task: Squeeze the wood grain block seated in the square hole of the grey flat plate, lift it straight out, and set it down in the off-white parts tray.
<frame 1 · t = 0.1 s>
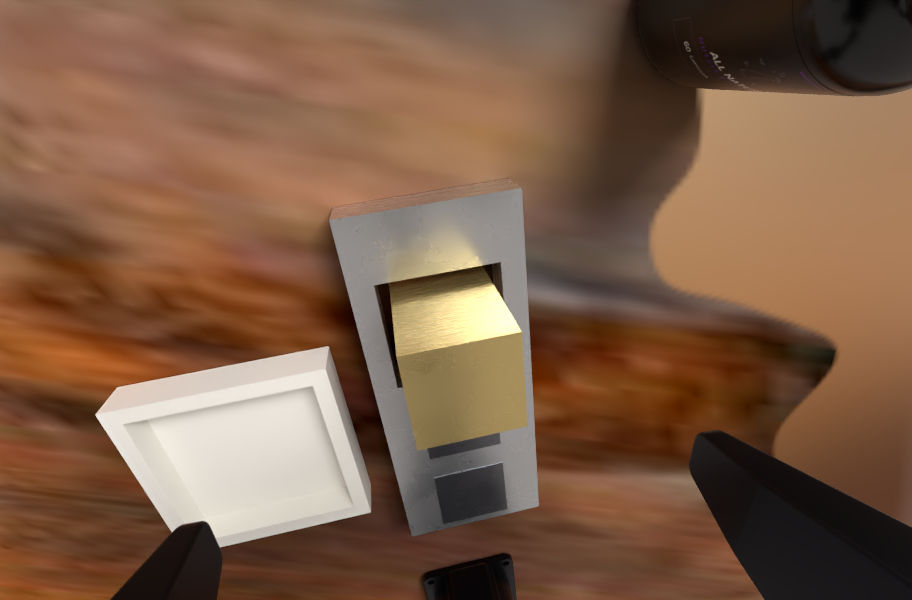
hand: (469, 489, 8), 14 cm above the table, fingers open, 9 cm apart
grey flat plate: (450, 371, 25), on the table
wood grain block: (440, 308, 23), resting in grey flat plate
parts tray: (258, 441, 25), on the table
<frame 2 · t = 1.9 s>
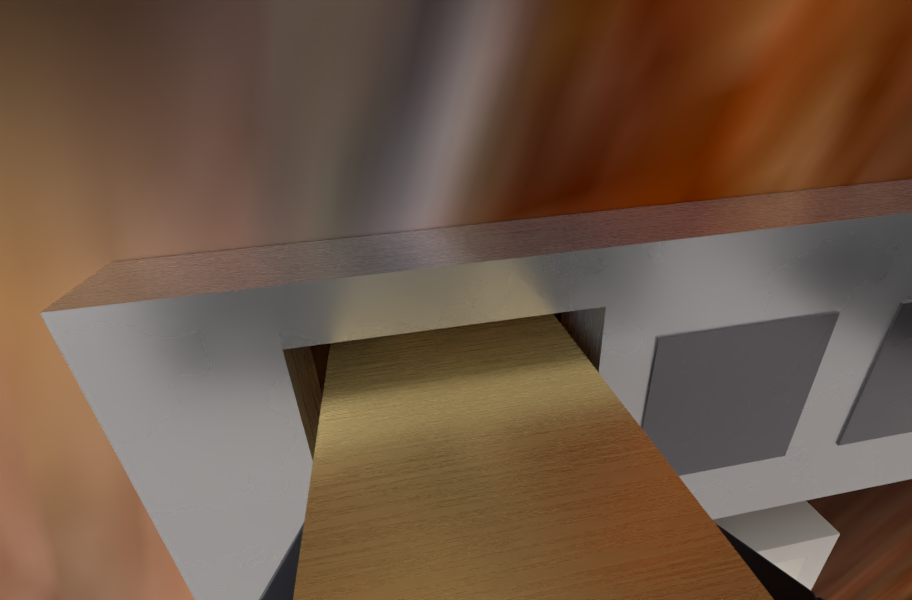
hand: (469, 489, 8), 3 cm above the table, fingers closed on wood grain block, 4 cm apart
grey flat plate: (600, 364, 11), on the table
wood grain block: (444, 387, 11), resting in grey flat plate, touching gripper
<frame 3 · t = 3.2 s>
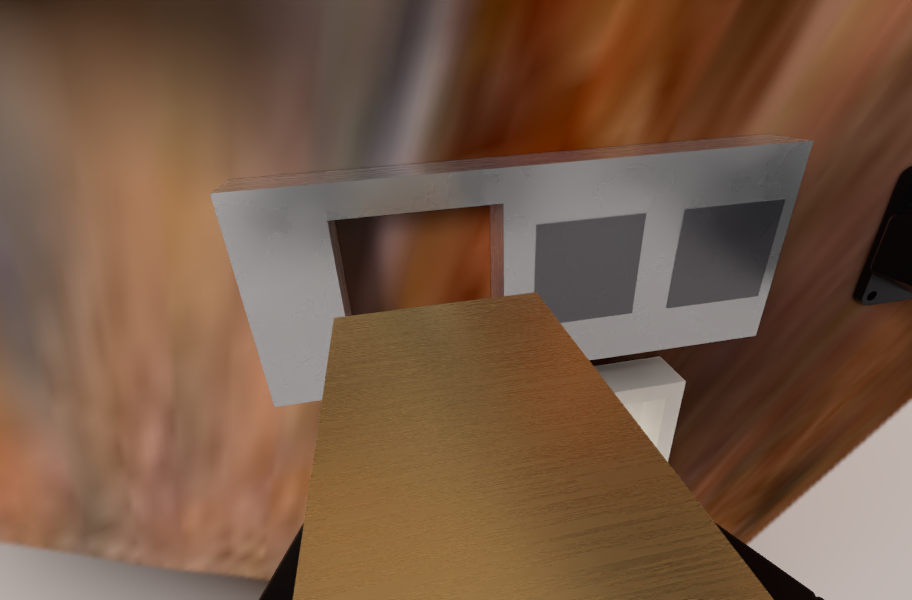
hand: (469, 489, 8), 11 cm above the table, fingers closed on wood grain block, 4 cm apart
grey flat plate: (518, 258, 18), on the table
wood grain block: (444, 386, 11), point 7 cm above the table, touching gripper
parts tray: (553, 451, 23), on the table
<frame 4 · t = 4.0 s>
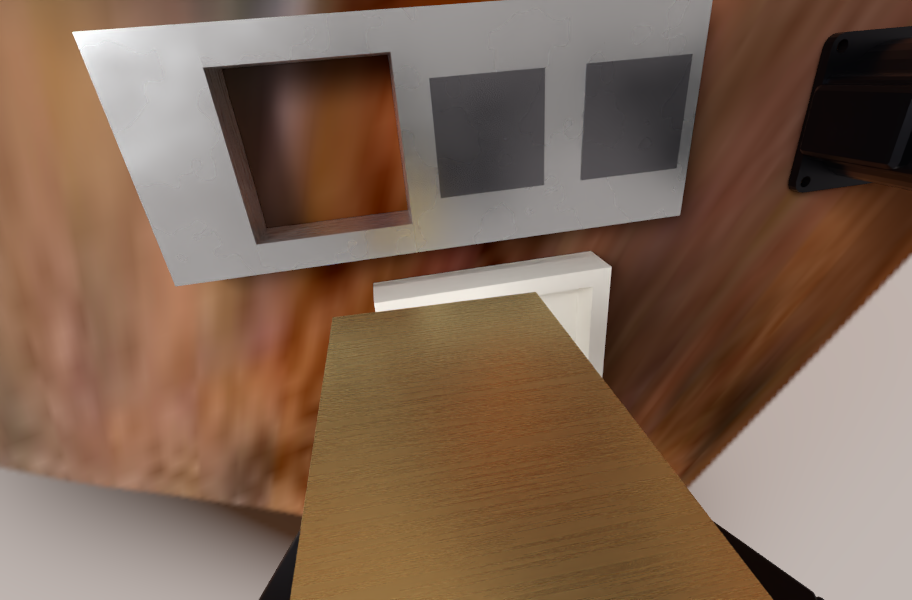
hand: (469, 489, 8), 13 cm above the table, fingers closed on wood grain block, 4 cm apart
grey flat plate: (428, 134, 18), on the table
wood grain block: (443, 386, 11), point 10 cm above the table, touching gripper
parts tray: (490, 359, 23), on the table
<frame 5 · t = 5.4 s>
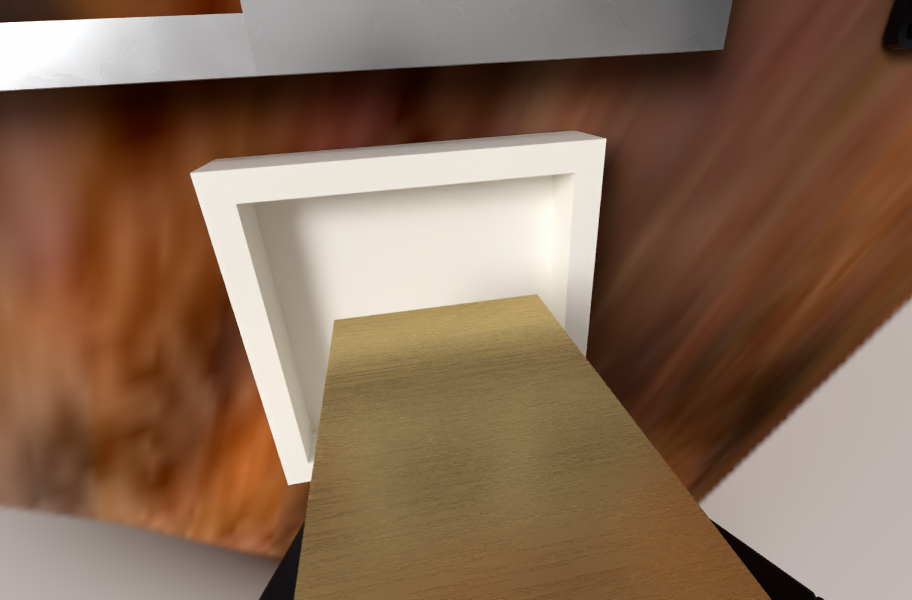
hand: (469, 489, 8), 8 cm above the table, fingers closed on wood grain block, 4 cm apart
wood grain block: (445, 388, 11), point 5 cm above the table, touching gripper
parts tray: (420, 303, 15), on the table
when the fingers open (5 cm above the table, at t = 6.3 s): wood grain block drops 1 cm, resting on parts tray.
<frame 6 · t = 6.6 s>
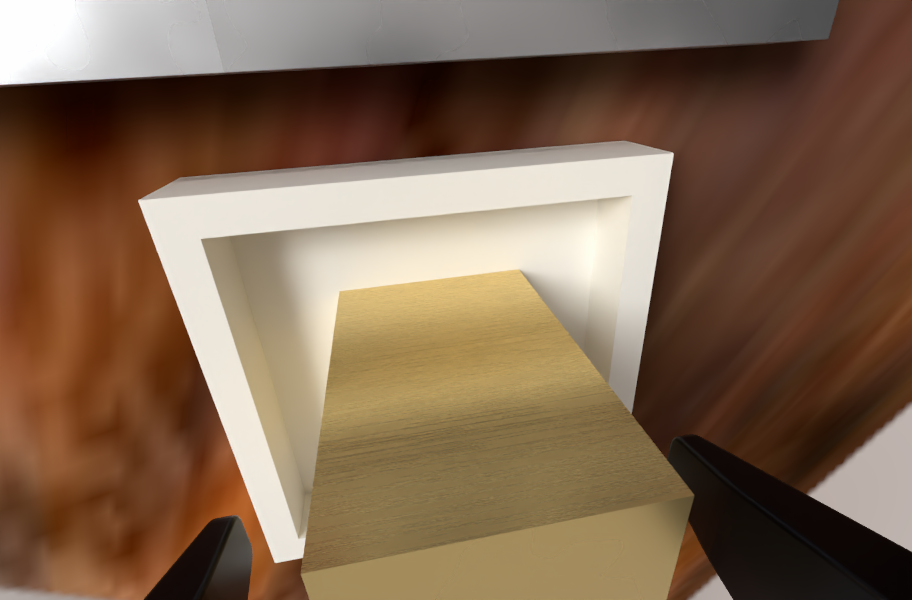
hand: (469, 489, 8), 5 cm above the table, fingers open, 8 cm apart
wood grain block: (438, 355, 12), resting on parts tray
parts tray: (433, 345, 13), on the table
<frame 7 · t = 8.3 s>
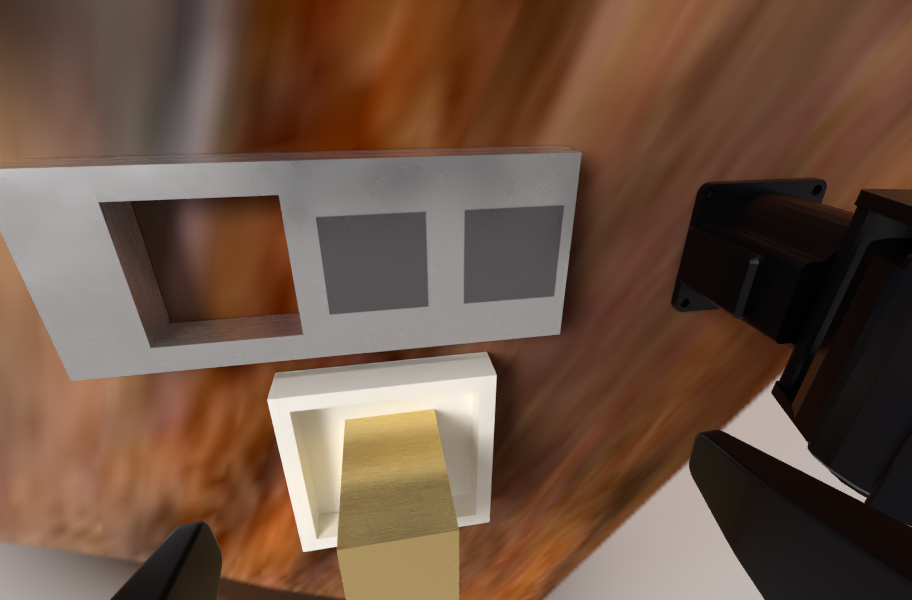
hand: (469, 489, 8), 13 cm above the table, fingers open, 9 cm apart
grey flat plate: (327, 250, 19), on the table
wood grain block: (393, 447, 24), resting on parts tray
parts tray: (391, 440, 24), on the table
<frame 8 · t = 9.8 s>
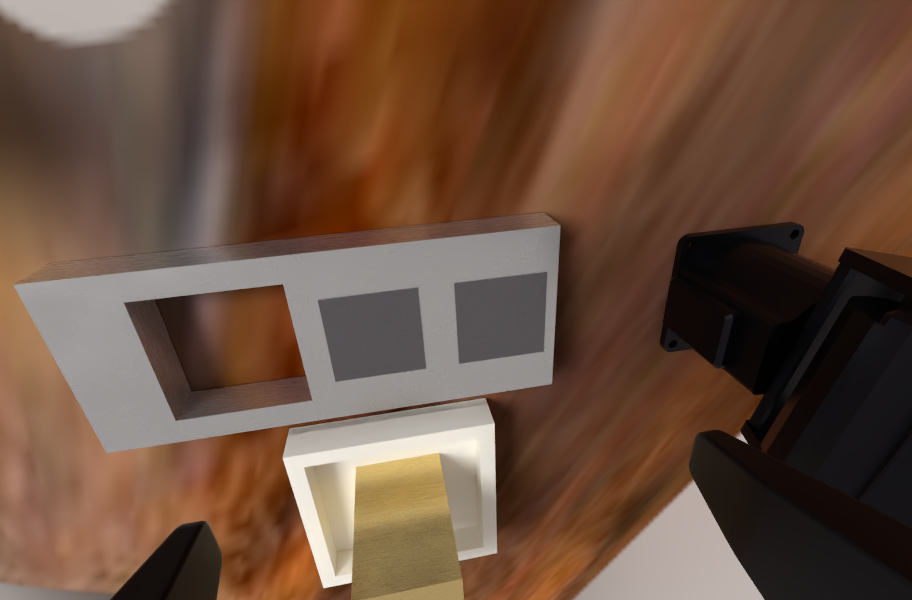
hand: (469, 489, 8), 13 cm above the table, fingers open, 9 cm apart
grey flat plate: (330, 319, 20), on the table
wood grain block: (402, 488, 25), resting on parts tray
parts tray: (400, 481, 26), on the table
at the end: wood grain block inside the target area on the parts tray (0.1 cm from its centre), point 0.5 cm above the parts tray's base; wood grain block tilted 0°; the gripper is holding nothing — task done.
